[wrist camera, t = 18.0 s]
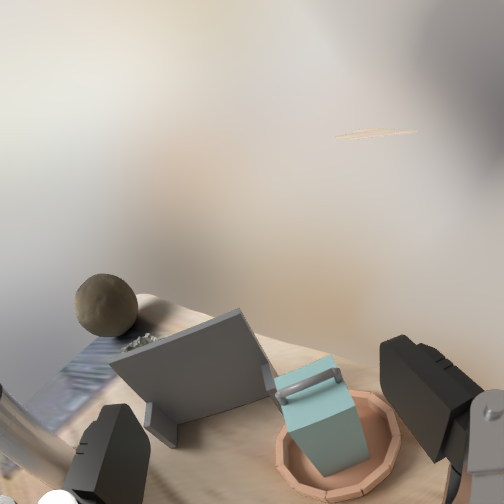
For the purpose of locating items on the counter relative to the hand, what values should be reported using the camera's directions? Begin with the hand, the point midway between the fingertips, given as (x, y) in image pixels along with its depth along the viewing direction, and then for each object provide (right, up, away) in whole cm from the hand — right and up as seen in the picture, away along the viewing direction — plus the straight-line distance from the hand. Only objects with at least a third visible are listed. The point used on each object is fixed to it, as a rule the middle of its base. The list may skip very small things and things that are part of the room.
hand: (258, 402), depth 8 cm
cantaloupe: (-29, -14, +57) cm, 65 cm away
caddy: (+9, -16, +18) cm, 25 cm away
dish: (+9, -16, +18) cm, 26 cm away
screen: (-4, -17, +27) cm, 32 cm away
